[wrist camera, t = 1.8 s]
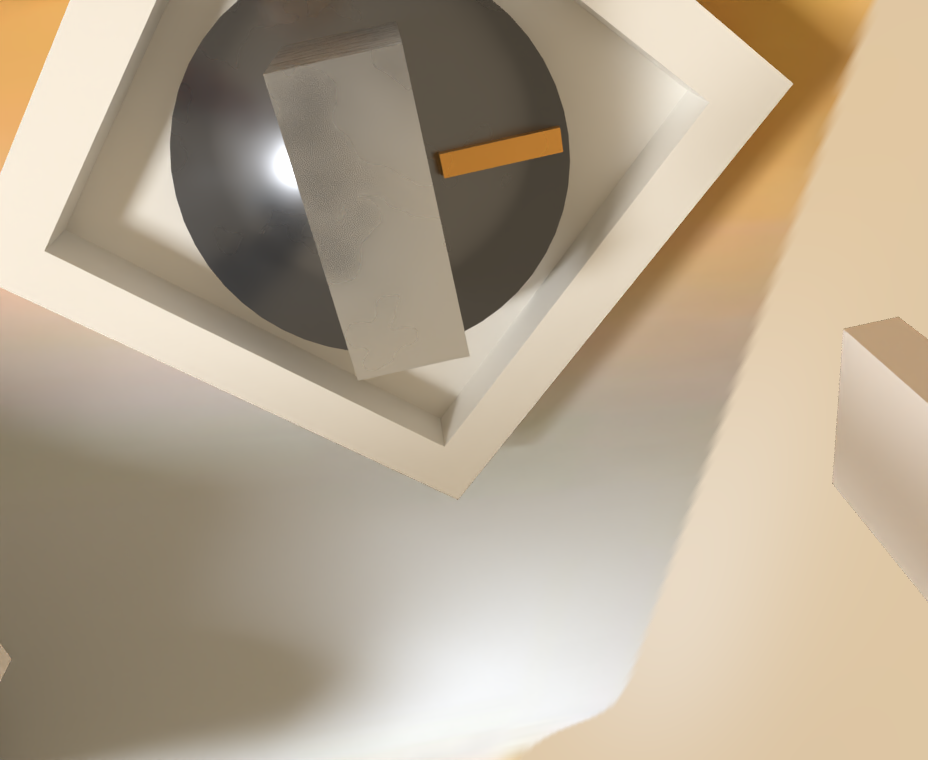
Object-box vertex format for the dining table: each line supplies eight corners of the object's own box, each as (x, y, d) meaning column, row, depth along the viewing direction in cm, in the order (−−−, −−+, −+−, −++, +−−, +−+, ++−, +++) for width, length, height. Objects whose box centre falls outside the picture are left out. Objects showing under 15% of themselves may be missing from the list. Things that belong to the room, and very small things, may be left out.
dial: (254, 362, 31) (228, 465, 25) (117, 3, 24) (36, 29, 18) (578, 290, 31) (628, 377, 25) (530, -90, 24) (582, -93, 18)
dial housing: (450, 450, 36) (459, 512, 33) (4, 232, 29) (-50, 278, 25) (747, 66, 29) (804, 88, 25) (249, -353, 22) (224, -410, 18)
